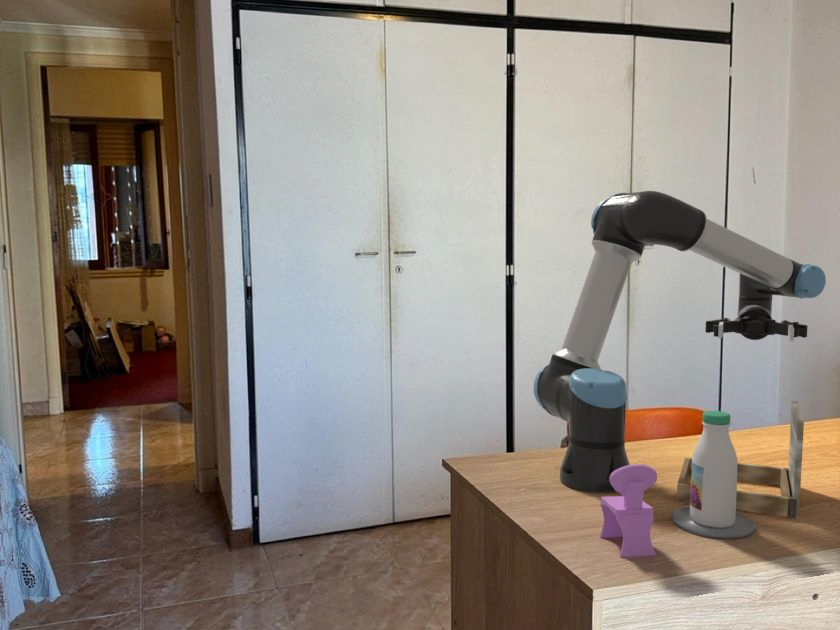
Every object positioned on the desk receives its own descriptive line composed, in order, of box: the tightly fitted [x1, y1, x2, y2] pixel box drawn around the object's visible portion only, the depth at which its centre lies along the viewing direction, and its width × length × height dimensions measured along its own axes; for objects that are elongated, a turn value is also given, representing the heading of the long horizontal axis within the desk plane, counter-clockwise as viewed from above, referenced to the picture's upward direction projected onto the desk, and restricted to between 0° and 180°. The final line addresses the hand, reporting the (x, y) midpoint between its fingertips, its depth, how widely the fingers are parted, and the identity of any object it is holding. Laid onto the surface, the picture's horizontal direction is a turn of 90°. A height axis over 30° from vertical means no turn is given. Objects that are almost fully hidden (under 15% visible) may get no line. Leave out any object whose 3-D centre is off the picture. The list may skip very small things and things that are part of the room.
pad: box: [671, 505, 756, 540], centre depth 134 cm, size 14×14×1 cm
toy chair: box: [599, 463, 658, 558], centre depth 124 cm, size 8×9×15 cm
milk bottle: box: [689, 410, 738, 528], centre depth 132 cm, size 8×8×20 cm
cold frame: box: [676, 400, 805, 519], centre depth 149 cm, size 22×20×18 cm
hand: (755, 333), depth 153 cm, fingers open, 13 cm apart
